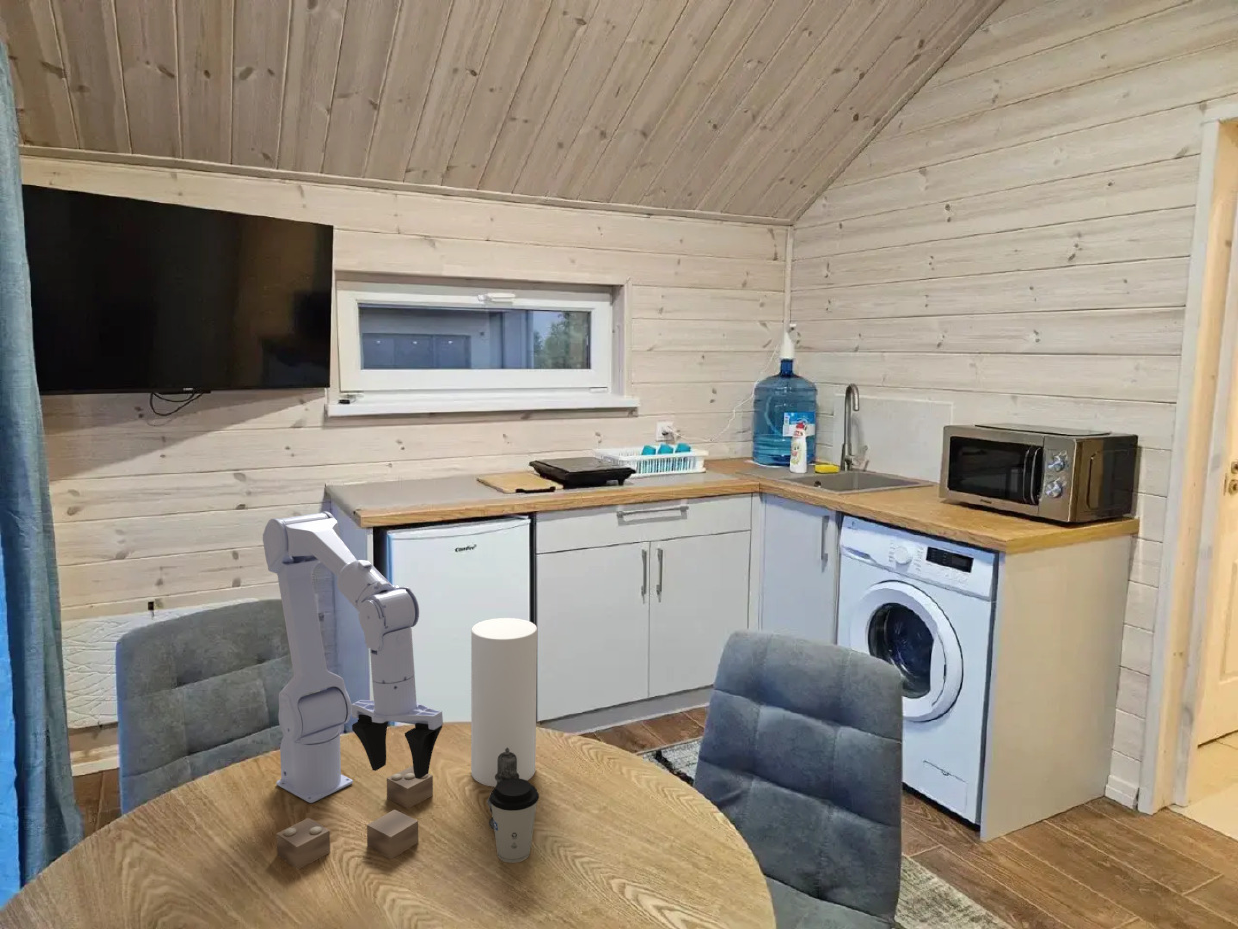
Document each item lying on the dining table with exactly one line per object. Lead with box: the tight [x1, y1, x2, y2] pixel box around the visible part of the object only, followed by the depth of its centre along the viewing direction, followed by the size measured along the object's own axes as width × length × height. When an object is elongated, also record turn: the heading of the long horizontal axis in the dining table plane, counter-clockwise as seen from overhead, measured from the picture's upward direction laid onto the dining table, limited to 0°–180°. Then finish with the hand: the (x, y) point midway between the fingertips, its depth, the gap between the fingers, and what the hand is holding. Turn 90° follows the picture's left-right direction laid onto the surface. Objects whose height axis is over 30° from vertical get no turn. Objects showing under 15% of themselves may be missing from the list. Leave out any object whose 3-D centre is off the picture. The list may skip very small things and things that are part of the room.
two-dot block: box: [276, 817, 331, 870], centre depth 117 cm, size 5×5×4 cm
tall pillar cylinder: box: [470, 617, 538, 788], centre depth 139 cm, size 11×11×25 cm
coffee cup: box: [488, 778, 540, 864], centre depth 118 cm, size 7×7×10 cm
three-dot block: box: [386, 765, 434, 809], centre depth 132 cm, size 5×5×4 cm
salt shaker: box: [486, 747, 519, 831], centre depth 125 cm, size 6×6×12 cm
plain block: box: [366, 809, 419, 860], centre depth 119 cm, size 5×5×4 cm
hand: (400, 771), depth 117 cm, fingers open, 7 cm apart
